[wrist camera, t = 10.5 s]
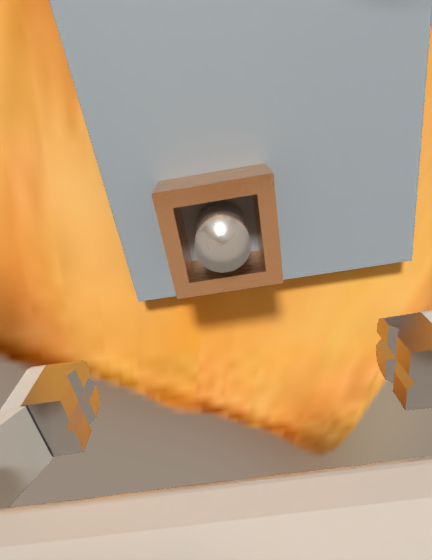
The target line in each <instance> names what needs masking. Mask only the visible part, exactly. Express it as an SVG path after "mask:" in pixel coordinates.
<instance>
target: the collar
mask: <svg viewBox="0 0 432 560" xmlns="http://www.w3.org/2000/svg"><path fill="white" fill-rule="evenodd" d="M151 195H152V199H153V203H154V207H155V211H156V215H157V219H158V224H159V228H160V232H161V236H162V240H163V244H164V248H165V252H166V257H167V261H168V265H169V269H170V273H171V277H172V281H173V285H174V289H175V294H176V298H177V299H182V298H189V297H195V296H202V295H209V294H215V293H222V292H229V291H235V290H242V289H248V288H255V287H262V286H268V285H275V284H282V283H284V282H283V271H282V260H281V249H280V238H279V228H278V217H277V206H276V195H275V184H274V173H273V172H272V171H271V169H270V168H269V167H268V166H267V165H266V164H265V163H261V164H256V165H250V166H244V167H238V168H232V169H226V170H221V171H215V172H209V173H203V174H197V175H191V176H186V177H180V178H174V179H168V180H162V181H159V182H158V184H157V185H156V187H155V189H154V190H153V192H152V193H151ZM249 195H253V202H254V210H255V218H256V227H257V235H258V243H259V250H258V251H251V252H250V254H249V257H248V259H247V260H246V262H245V263H244V264H243V265H242V266H241V267H239V268H238V269H236V270H234V271H231V272H225V273H219V272H214V271H211V270H209V269H207V268H206V267H204V266H203V265H202V264H201V263H200V262H199V260H194V261H192V259H191V254H190V249H189V245H188V240H187V235H186V230H185V226H184V221H183V216H182V211H181V207H183V206H189V205H195V204H201V203H207V202H213V201H219V200H225V199H231V198H237V197H243V196H249Z"/></svg>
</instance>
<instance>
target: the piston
mask: <svg viewBox="0 0 432 560" xmlns="http://www.w3.org/2000/svg"><path fill="white" fill-rule="evenodd" d="M194 249H195V254H196V256H197V259H198V260H199V262H200V263H201V264H202V265H203V266H204V267H206V268H207V269H209V270H211V271H214V272H219V273H225V272H231V271H234V270H236V269H238V268H239V267H241V266H242V265H243V264H244V263H245V262H246V260H247V259H248V257H249V254H250V251H251V241H250V237H249V233H248V230H247V226H246V223H245V219H244V216H243V213H242V211H241V209H240V208H239V207H238V206H237V205H236V204H235V203H233V202H231V201H228V200H219V201H213V202H209V203H207V204H206V205H205V206H204V207H203V208H202V209H201V211H200V212H199V215H198V218H197V226H196V235H195V244H194Z"/></svg>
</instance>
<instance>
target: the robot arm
mask: <svg viewBox="0 0 432 560" xmlns="http://www.w3.org/2000/svg"><path fill="white" fill-rule="evenodd" d="M377 332H378V334H379V335H380V337H381V338H382V339H381V340H380V341H379V342H378V344H377V345H376V356H377V361H378V366H379V368H380V370H381V373H382V374H383V376H384V378H385V379H386V380H388V381H390V382H392V383H394V384H393V392H394V394H395V395H396V397H397V398H398V400H399V401H400V402H401V404H402V406H403V408H404V409H405V410H415V409H425V408H432V310H428V311H422V312H417V313H413V314H407V315H400V316H393V317H387V318H380V319H379V321H378V324H377ZM89 374H90V369H89V367H88V365H87V363H86V362H84V361H74V362H66V363H57V364H49V365H42V366H35V367H31V368H29V369H27V371H26V372H25V374H24V375H23V376H22V378H21V379H20V381H19V382H18V384H17V385H16V387H15V388H14V390H13V392H12V393H11V394H10V396H9V397H8V399H7V400H6V402H5V403H4V405H3V406H2V408H1V409H0V560H432V456H429V457H421V458H414V459H406V460H396V461H388V462H380V463H372V464H363V465H355V466H346V467H338V468H330V469H322V470H314V471H305V472H296V473H288V474H280V475H272V476H264V477H255V478H247V479H239V480H231V481H223V482H214V483H207V484H198V485H191V486H182V487H174V488H167V489H157V490H149V491H141V492H133V493H125V494H116V495H108V496H100V497H92V498H84V499H75V500H67V501H59V502H51V503H43V504H34V505H26V506H18V507H10V505H11V504H12V503H13V502H14V501H15V500H16V499H17V498H18V497H19V496H20V494H21V493H22V492H23V491H24V490H25V489H26V488H27V487H28V485H29V484H30V483H31V482H32V481H33V480H34V479H35V478H36V476H38V474H39V473H40V472H41V471H42V470H43V469H44V468H45V467H46V466H47V464H48V463H49V462H50V461H51V460H52V459H53V457H54V456H61V455H67V454H73V453H80V452H84V450H85V448H86V445H87V442H88V439H89V436H90V434H91V429H90V427H89V424H90V423H91V422H92V421H93V420H94V419H95V418H96V416H97V413H98V410H99V393H98V389H97V387H96V384H94V383H93V382H92V381H90V380H89V379H88V377H89ZM9 507H10V508H9Z"/></svg>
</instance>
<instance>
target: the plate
mask: <svg viewBox="0 0 432 560" xmlns="http://www.w3.org/2000/svg"><path fill="white" fill-rule="evenodd" d="M49 1H50V5H51V8H52V11H53V15H54V18H55V22H56V25H57V28H58V32H59V35H60V38H61V42H62V45H63V48H64V52H65V55H66V59H67V62H68V65H69V69H70V72H71V75H72V79H73V82H74V86H75V89H76V92H77V96H78V99H79V102H80V106H81V109H82V113H83V116H84V119H85V123H86V126H87V129H88V133H89V136H90V140H91V143H92V146H93V150H94V153H95V156H96V160H97V163H98V167H99V170H100V173H101V177H102V180H103V183H104V187H105V190H106V193H107V197H108V200H109V204H110V207H111V210H112V214H113V217H114V220H115V224H116V227H117V231H118V234H119V237H120V241H121V244H122V247H123V251H124V254H125V258H126V261H127V264H128V268H129V271H130V274H131V278H132V281H133V285H134V288H135V291H136V295H137V298H138V301H139V302H140V301H147V300H153V299H160V298H167V297H173V296H176V294H175V289H174V285H173V281H172V277H171V273H170V269H169V265H168V261H167V257H166V252H165V248H164V244H163V240H162V236H161V232H160V228H159V224H158V219H157V215H156V211H155V207H154V203H153V199H152V195H151V193H152V192H153V190H154V189H155V187H156V185H157V184H158V182H159V181H162V180H168V179H174V178H180V177H186V176H191V175H197V174H203V173H209V172H215V171H221V170H226V169H232V168H238V167H244V166H250V165H256V164H261V163H265V164H266V165H267V166H268V167H269V168H270V169H271V171H272V172H273V173H274V184H275V195H276V206H277V217H278V228H279V238H280V249H281V260H282V271H283V280H286V279H292V278H299V277H306V276H312V275H319V274H325V273H332V272H339V271H345V270H352V269H359V268H365V267H372V266H378V265H385V264H392V263H398V262H405V261H412V252H413V239H414V226H415V214H416V201H417V189H418V176H419V164H420V151H421V138H422V126H423V113H424V101H425V88H426V76H427V63H428V50H429V38H430V25H431V13H432V0H49ZM225 200H228V201H231V202H233V203H235V204H236V205H237V206H238V207H239V208H240V209H241V211H242V213H243V216H244V219H245V223H246V226H247V230H248V233H249V237H250V241H251V251H258V250H259V243H258V235H257V227H256V218H255V210H254V202H253V195H249V196H243V197H237V198H231V199H225ZM207 203H209V202H207ZM207 203H201V204H195V205H189V206H183V207H181V211H182V216H183V221H184V226H185V230H186V235H187V240H188V245H189V249H190V254H191V259H192V261H194V260H198V259H197V256H196V254H195V249H194V244H195V235H196V226H197V218H198V215H199V212H200V211H201V209H202V208H203V207H204V206H205V205H206V204H207ZM251 251H250V252H251Z"/></svg>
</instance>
